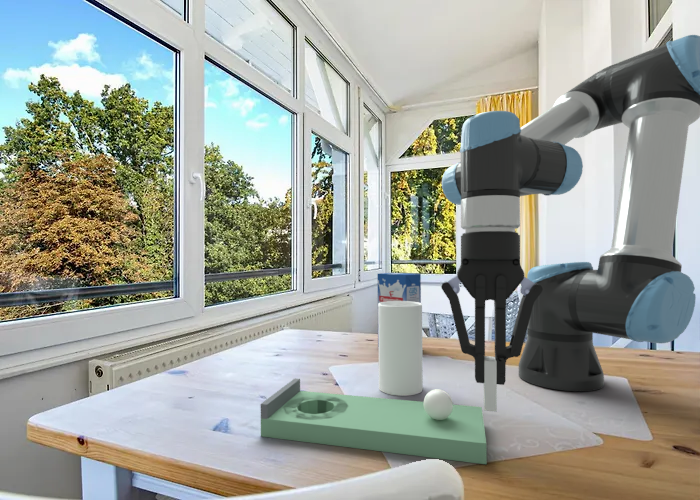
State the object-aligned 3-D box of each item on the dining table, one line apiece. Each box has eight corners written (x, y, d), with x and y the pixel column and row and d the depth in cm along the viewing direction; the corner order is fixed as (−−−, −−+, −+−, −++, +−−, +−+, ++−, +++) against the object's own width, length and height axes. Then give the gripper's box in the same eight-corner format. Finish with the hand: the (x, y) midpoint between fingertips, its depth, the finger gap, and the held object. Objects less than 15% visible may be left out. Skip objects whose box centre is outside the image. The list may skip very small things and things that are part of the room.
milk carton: (377, 347, 110) (377, 273, 111) (392, 343, 115) (392, 272, 115) (406, 353, 103) (405, 274, 103) (421, 349, 107) (420, 273, 108)
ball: (453, 414, 58) (453, 386, 58) (452, 426, 54) (452, 396, 54) (424, 412, 59) (424, 384, 59) (422, 423, 55) (422, 393, 55)
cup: (412, 398, 71) (411, 307, 71) (371, 390, 75) (370, 304, 76) (429, 385, 78) (428, 302, 78) (390, 379, 82) (390, 300, 83)
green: (481, 423, 60) (481, 393, 61) (486, 464, 49) (486, 426, 49) (294, 405, 68) (294, 378, 68) (260, 436, 57) (260, 404, 57)
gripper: (537, 232, 57) (537, 402, 56) (441, 233, 60) (441, 393, 60) (548, 228, 49) (549, 424, 49) (438, 230, 53) (438, 412, 52)
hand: (489, 407), depth 54 cm, fingers closed
